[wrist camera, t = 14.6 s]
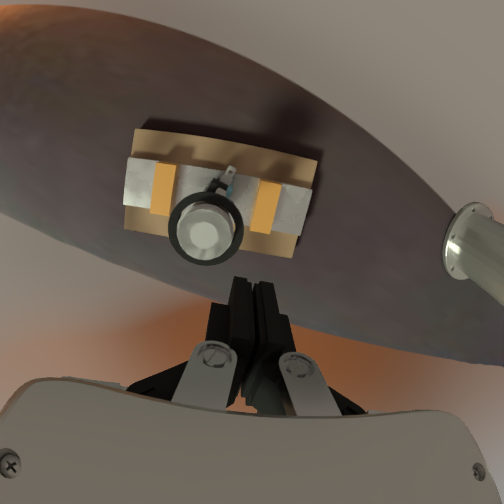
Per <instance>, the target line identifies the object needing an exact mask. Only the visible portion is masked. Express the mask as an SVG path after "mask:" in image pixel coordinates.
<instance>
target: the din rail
mask: <svg viewBox="0 0 504 504" xmlns="http://www.w3.org/2000/svg"><path fill="white" fill-rule="evenodd" d="M159 161H161V160H153V159H145V158H137V157H128V162H127V171H126V179H125V189H124V200H123V205H129V206H136V207H142V208H148V209H150V205H151V196H152V188H153V180H154V173H155V166H156V162H159ZM161 162H168V161H161ZM169 163H175V162H169ZM176 164H179V169H178V175H177V182H176V188H175V195H174V202H173V209H174V208H175V206H176V205H177V204H178V203H179V202H180V201H181V200H182V199H184V198H185V197H187V196H189V195H191V194H193V193H197V192H203V191H204V192H206V191H207V189H208V187H209V185H210V183H211V181H212V180H213V178H216V179H218V178H219V179H220V178H221V176H222V174H225V172H226V171H224V170H219V169H213V168H207V167H201V166H195V165H189V164H182V163H176ZM228 172H229V173H232V172H230V171H228ZM259 179H260V177H256V176H251V175H246V174H240V173H235V174H234V176H233V177H232V182H231V184H230V185H232V186H233V191H232V193H231V195H230V197H229V198H228V199H229V200H230V201H232V202H233V203H234V204H235V206H236V207H237V208H238V210H239V212H240V213H241V216H242V219H243V223H244V225H247V226H249V224H250V220H251V215H252V211H253V206H254V202H255V197H256V193H257V188H258V184H259ZM261 179H265V178H261ZM265 180H270V179H265ZM270 181H274V180H270ZM275 182H279V181H275ZM279 183H280V184H281V185H282V187H281V191H280V195H279V199H278V203H277V207H276V211H275V215H274V220H273V224H272V228H271V230H273V231H278V232H283V233H289V234H294V235H299V236H300V235H301V231H302V228H303V224H304V221H305V217H306V213H307V210H308V206H309V202H310V198H311V195H312V191H313V190H311V189H309V188H305V187H301V186H297V185H292V184H288V183H283V182H279ZM195 203H196V202H195ZM195 203H193V204H191V205H189V206H188V207H186V208H185V209H184V210H183V211H182V214H183V213H184V212H185V211H186V210H188V209H189V208H190V207H192V206H193V205H194V204H195ZM172 211H173V210H172ZM229 215H230V218H231V221H232V223H234V220H233V218H232V216H231V214H230V213H229Z"/></svg>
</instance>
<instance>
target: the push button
mask: <svg viewBox="0 0 504 504" xmlns="http://www.w3.org/2000/svg"><path fill="white" fill-rule="evenodd" d="M229 170H231V171H232V173H229V172H228V171H229ZM235 172H236V168H235V167H233V166H231V165H229V167H228V168H227V170H226V172H225V174H222V176H221V178H220V179H219V178H218V179H216V178H213V180H212V181H211V183H210V185H209V187H208V189H207V191H206V192H204V191H203V192H197V193H193V194H191V195H189V196H187V197H185V198H184V199H182V200H181V201H180V202H179V203H178V204H177V205H176V206H175V208H174V209H173V211H172V213H171V215H170V217H169V221H168V235H169V239H170V242H171V244H172V246H173V247H174V249H175V250H176V251H177V253H178V254H179V255H180V256H182V257H183V258H184V259H186V260H187V261H189V262H192V263H194V264H198V265H205V266H209V265H216V264H219V263H222V262H224V261H226V260H228V259H229V258H231V257H232V256H233V255H234V254H235V253H236V252H237V250H238V249H239V247H240V245H241V243H242V240H243V236H244V223H243V219H242V216H241V213H240V212H239V210H238V208H237V207H236V206H235V204H234V203H233V202H232V201H230V200H229V199H228V198H229V197H230V195H231V193H232V191H233V186H232V185H230V184H231V182H232V177H233V176H234V174H235ZM195 202H196V203H195ZM193 203H195V204H194V205H193V206H192V207H190V208H189V209H188V210H186V211H185V212H184V213H183V214H182V211H183V210H184V209H185V208H186V207H188V206H189V205H191V204H193ZM229 213H230V214H231V216H232V218H233V220H234V223H235V231H234V230H233V223H232V221H231V218H230V215H229ZM181 214H182V215H181Z"/></svg>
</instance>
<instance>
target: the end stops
mask: <svg viewBox="0 0 504 504" xmlns="http://www.w3.org/2000/svg"><path fill="white" fill-rule="evenodd" d="M178 169H179V164H176V163H169V162H161V161H159V162H156V166H155V173H154V180H153V188H152V196H151V205H150V213H151V214H158V215H164V216H170V214H171V213H172V210H173V202H174V195H175V188H176V182H177V175H178ZM281 187H282V185H281V184H280V183H279V182H275V181H270V180H265V179H261V178H260V179H259V184H258V188H257V193H256V197H255V202H254V206H253V211H252V215H251V220H250V224H249V228H250V231H254V232H260V233H265V234H270V232H271V228H272V224H273V220H274V215H275V211H276V207H277V203H278V199H279V195H280V191H281Z"/></svg>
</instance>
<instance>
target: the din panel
mask: <svg viewBox="0 0 504 504" xmlns="http://www.w3.org/2000/svg"><path fill="white" fill-rule="evenodd" d="M131 157H137V158H145V159H153V160H161V161H168V162H175V163H182V164H189V165H195V166H201V167H207V168H213V169H219V170H224V171H226V170H227V168H228V167H229V165H231V166H233V167H235V168H236V172H235V173H240V174H246V175H251V176H256V177H260V178H265V179H270V180H274V181H279V182H283V183H288V184H292V185H297V186H301V187H305V188H309V189H311V186H312V182H313V178H314V174H315V170H316V166H317V162H318V161H315V160H311V159H307V158H303V157H299V156H296V155H292V154H287V153H283V152H279V151H275V150H270V149H266V148H261V147H256V146H252V145H247V144H242V143H236V142H231V141H226V140H220V139H214V138H208V137H202V136H195V135H188V134H181V133H173V132H165V131H155V130H146V129H135V133H134V139H133V146H132V153H131ZM229 171H230V172H232V171H231V170H229ZM170 215H171V214H170ZM181 215H182V214H181ZM169 217H170V216H164V215H158V214H151V213H150V209H148V208H142V207H136V206H129V205H126V207H125V222H124V229H128V230H133V231H139V232H145V233H150V234H156V235H162V236H168V237H169V235H168V221H169ZM233 230H234V231H235V223H233ZM297 237H298V235H294V234H289V233H283V232H278V231H273V230H271V232H270V234H265V233H260V232H254V231H250V228H249V226H247V225H244V236H243V240H242V243H241V245H240V247H239V249H242V250H247V251H253V252H259V253H264V254H270V255H276V256H281V257H287V258H292V255H293V252H294V248H295V245H296V241H297Z"/></svg>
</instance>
